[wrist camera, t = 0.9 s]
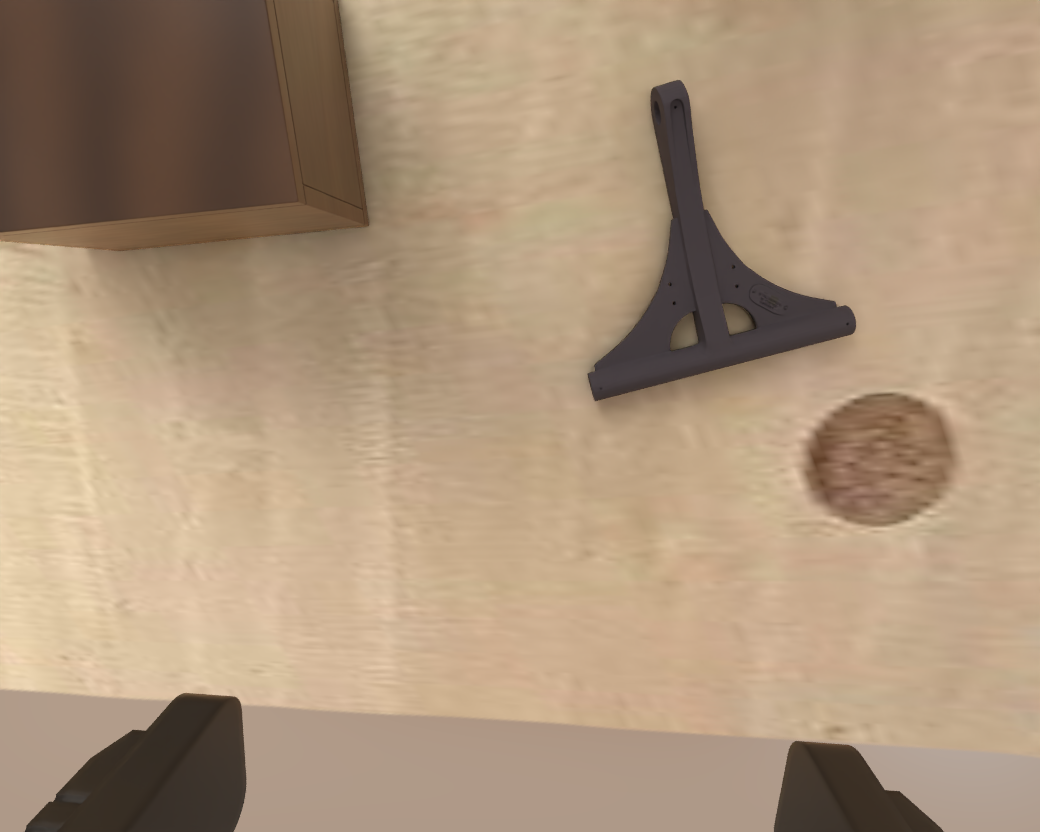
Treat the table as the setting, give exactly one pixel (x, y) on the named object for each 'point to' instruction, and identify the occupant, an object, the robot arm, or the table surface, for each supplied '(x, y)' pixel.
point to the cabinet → (174, 122)
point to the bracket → (705, 285)
